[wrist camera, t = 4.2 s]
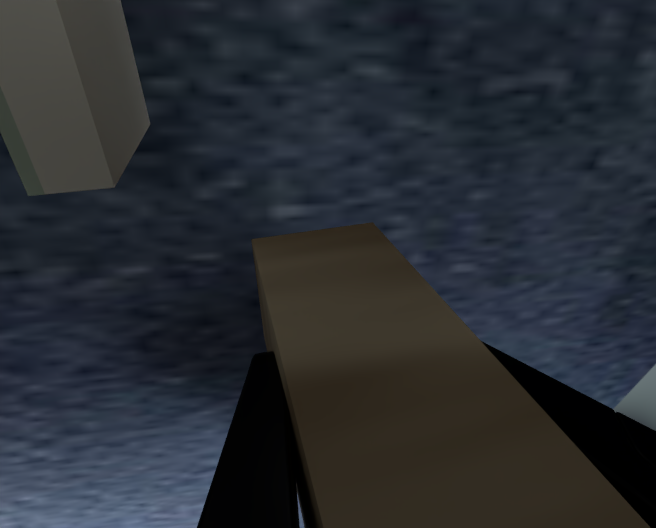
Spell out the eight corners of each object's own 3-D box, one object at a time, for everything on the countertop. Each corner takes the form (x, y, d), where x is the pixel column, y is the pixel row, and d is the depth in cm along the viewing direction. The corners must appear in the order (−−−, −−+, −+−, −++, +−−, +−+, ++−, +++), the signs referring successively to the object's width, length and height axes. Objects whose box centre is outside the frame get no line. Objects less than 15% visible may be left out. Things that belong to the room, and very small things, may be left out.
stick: (367, 316, 11) (703, 883, 4) (264, 337, 10) (423, 1084, 3) (372, 222, 10) (968, 876, 2) (251, 239, 9) (511, 1288, 1)
